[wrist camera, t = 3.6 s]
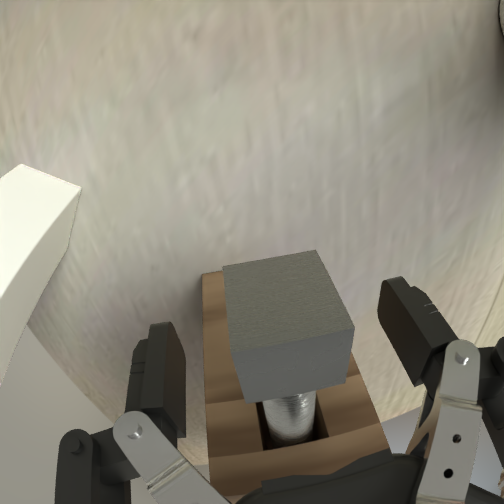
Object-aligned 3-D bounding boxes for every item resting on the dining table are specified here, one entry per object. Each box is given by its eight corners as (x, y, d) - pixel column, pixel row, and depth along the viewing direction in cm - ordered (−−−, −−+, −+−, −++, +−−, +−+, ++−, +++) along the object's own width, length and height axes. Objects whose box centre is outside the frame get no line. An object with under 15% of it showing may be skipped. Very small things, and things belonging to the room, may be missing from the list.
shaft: (222, 266, 12) (230, 352, 8) (316, 250, 12) (354, 327, 8) (275, 477, 28) (281, 508, 24) (307, 471, 28) (314, 501, 25)
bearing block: (202, 274, 26) (211, 497, 12) (307, 255, 27) (393, 458, 12) (227, 359, 33) (246, 521, 18) (308, 344, 33) (356, 498, 19)
